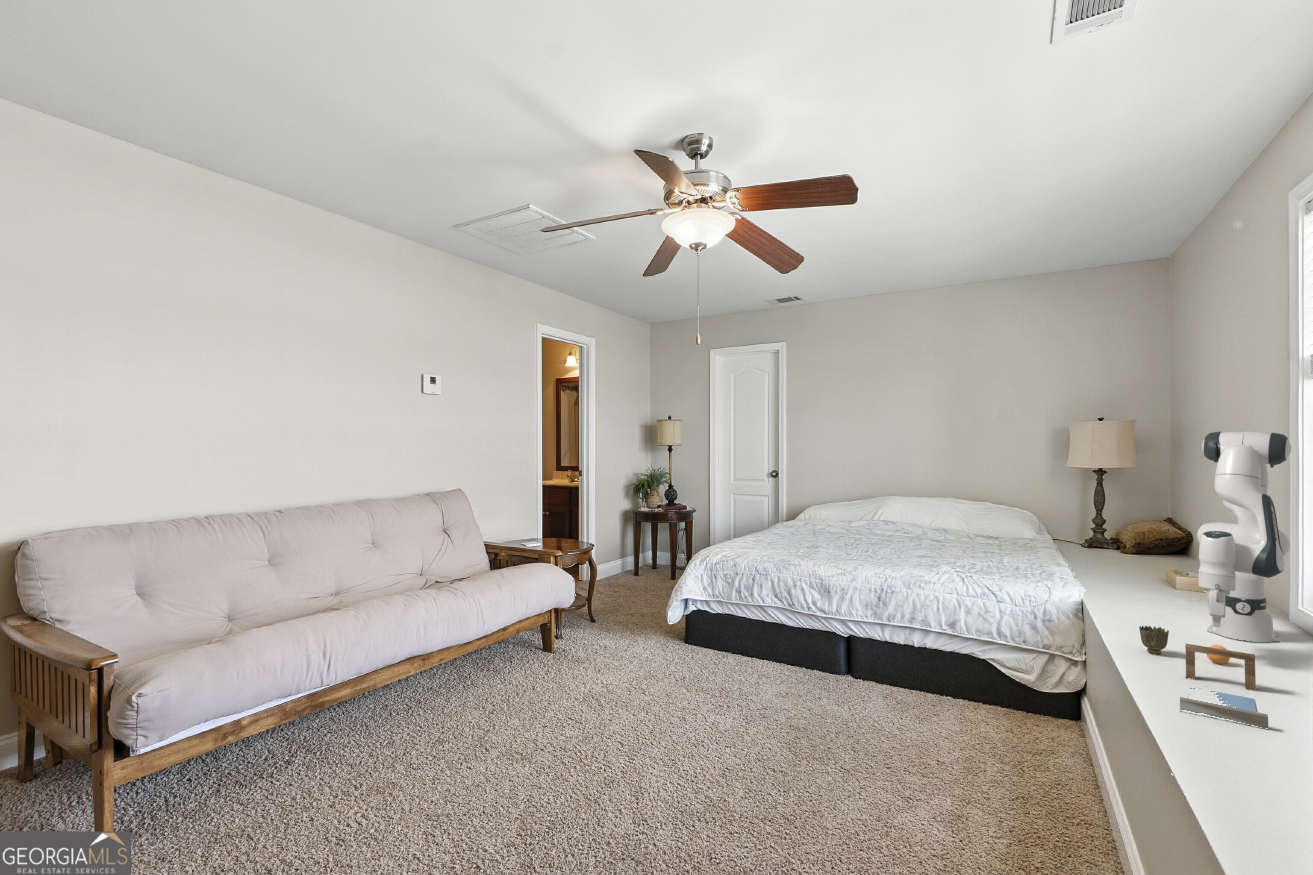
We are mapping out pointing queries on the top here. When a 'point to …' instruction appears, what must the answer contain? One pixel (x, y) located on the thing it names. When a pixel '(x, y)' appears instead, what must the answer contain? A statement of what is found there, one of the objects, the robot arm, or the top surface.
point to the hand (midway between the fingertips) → (1216, 626)
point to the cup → (1154, 639)
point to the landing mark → (1236, 701)
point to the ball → (1217, 658)
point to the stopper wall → (1225, 712)
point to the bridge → (1249, 658)
